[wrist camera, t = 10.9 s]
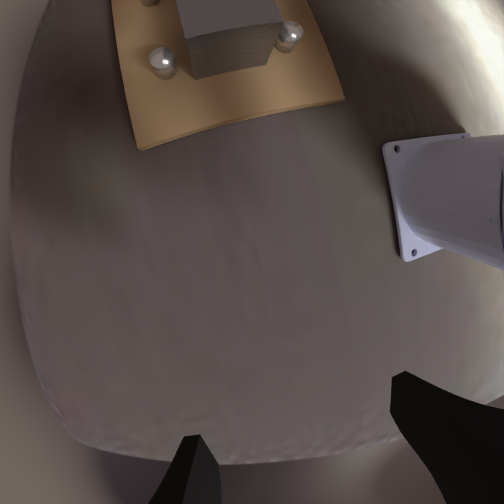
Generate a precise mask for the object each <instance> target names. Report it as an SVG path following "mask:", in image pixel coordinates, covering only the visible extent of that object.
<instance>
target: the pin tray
mask: <svg viewBox="0 0 504 504" xmlns="http://www.w3.org/2000/svg"><path fill="white" fill-rule="evenodd" d="M275 1H276V4H277V6H278V8H279V11H280V13H281V16H282V18H283V21H284V23H283V25H282V28H281V30H280V32H279V35H278V37H277V39H276V42H275V44H274V47H273V49H272V52H271V54H270V57H269V59H268V62H267V64H266V65H264V66H258V67H252V68H247V69H242V70H237V71H232V72H227V73H223V74H218V75H214V76H210V77H206V78H202V79H198V80H195V77H194V73H193V69H192V65H191V62H190V58H189V54H188V50H187V46H186V42H185V38H184V34H183V30H182V26H181V22H180V18H179V14H178V10H177V6H176V2H175V0H111V3H112V12H113V20H114V28H115V36H116V42H117V49H118V55H119V61H120V67H121V73H122V78H123V84H124V89H125V94H126V99H127V104H128V109H129V113H130V118H131V122H132V127H133V131H134V135H135V139H136V144H137V148H138V149H139V150H142V151H144V150H146V149H149V148H152V147H155V146H158V145H160V144H163V143H166V142H169V141H172V140H176V139H179V138H182V137H185V136H188V135H192V134H195V133H198V132H202V131H205V130H209V129H212V128H216V127H220V126H223V125H227V124H231V123H235V122H239V121H243V120H248V119H252V118H256V117H261V116H265V115H270V114H275V113H280V112H285V111H291V110H296V109H302V108H308V107H314V106H321V105H328V104H335V103H340V102H341V101H343V100H344V99H345V96H344V93H343V90H342V87H341V84H340V81H339V78H338V75H337V73H336V70H335V67H334V64H333V62H332V59H331V56H330V54H329V51H328V49H327V46H326V44H325V41H324V39H323V36H322V34H321V32H320V29H319V27H318V25H317V22H316V20H315V18H314V16H313V13H312V11H311V9H310V7H309V5H308V3H307V1H306V0H275Z"/></svg>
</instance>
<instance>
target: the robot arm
mask: <svg viewBox="0 0 504 504" xmlns="http://www.w3.org/2000/svg"><path fill="white" fill-rule="evenodd" d="M394 146H396V147H397V152H395V150H394ZM382 152H383V156H384V161H385V165H386V170H387V174H388V179H389V184H390V189H391V195H392V200H393V206H394V212H395V218H396V225H397V232H398V240H399V248H400V256H401V259H402V260H404V261H406V262H409V261H412V260H414V259H417V258H420V257H422V256H425V255H427V254H430V253H432V252H435V251H437V250H439V249H442V248H444V249H447V250H450V251H452V252H455V253H458V254H461V255H464V256H466V257H469V258H472V259H475V260H477V261H480V262H483V263H485V264H488V265H490V266H493V267H496V268H498V269H501V270H503V271H504V135H492V136H480V137H473V135H472V134H471V133H459V134H449V135H440V136H431V137H423V138H415V139H408V140H401V141H394V142H388V143H385V144H384V145H383V147H382ZM413 249H414V253H413V254H411V253H412V250H413ZM390 413H391V415H392V417H393V419H394V421H395V423H396V425H397V426H398V428H399V430H400V432H401V433H402V434H403V436H404V437H405V439H406V440H407V441H408V443H409V444H410V445H411V447H412V448H413V449H414V451H415V452H416V453H417V455H418V456H419V457H420V459H421V460H422V461H423V463H424V464H425V465H426V467H427V468H428V470H429V471H430V473H431V474H432V476H433V478H434V480H435V482H436V483H437V485H438V487H439V489H440V491H441V493H442V495H443V497H444V499H445V501H446V504H504V409H499V408H495V407H491V406H486V405H483V404H479V403H476V402H473V401H470V400H467V399H464V398H462V397H459V396H457V395H454V394H452V393H450V392H447V391H445V390H443V389H441V388H439V387H437V386H435V385H432V384H430V383H428V382H426V381H424V380H422V379H421V378H419V377H417V376H415V375H413V374H411V373H409V372H407V371H404V372H402V373H400V374H398V375H396V376H393V377H392V387H391V404H390ZM148 504H221V481H220V473H219V466H218V463H217V461H216V460H215V458H214V456H213V455H212V453H211V452H210V450H209V448H208V447H207V445H206V444H205V442H204V440H203V439H202V437H201V435H200V434H199V435H192V436H185V437H184V438H183V439H182V441H181V443H180V446H179V448H178V450H177V452H176V454H175V456H174V458H173V461H172V463H171V465H170V467H169V469H168V471H167V472H166V474H165V476H164V478H163V480H162V482H161V484H160V485H159V487H158V489H157V490H156V492H155V494H154V495H153V497H152V499H151V500H150V502H149V503H148Z"/></svg>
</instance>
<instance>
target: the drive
mask: <svg viewBox="0 0 504 504" xmlns="http://www.w3.org/2000/svg"><path fill="white" fill-rule="evenodd" d="M175 2H176V6H177V10H178V14H179V18H180V22H181V26H182V30H183V34H184V38H185V42H186V46H187V50H188V54H189V58H190V62H191V65H192V69H193V73H194V77H195V80H198V79H202V78H206V77H210V76H214V75H218V74H223V73H227V72H232V71H237V70H242V69H247V68H252V67H258V66H264V65H266V64H267V62H268V59H269V57H270V54H271V52H272V49H273V47H274V44H275V42H276V39H277V37H278V35H279V32H280V30H281V28H282V25H283V23H284V21H283V18H282V16H281V13H280V11H279V8H278V6H277V4H276V1H275V0H175Z"/></svg>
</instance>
